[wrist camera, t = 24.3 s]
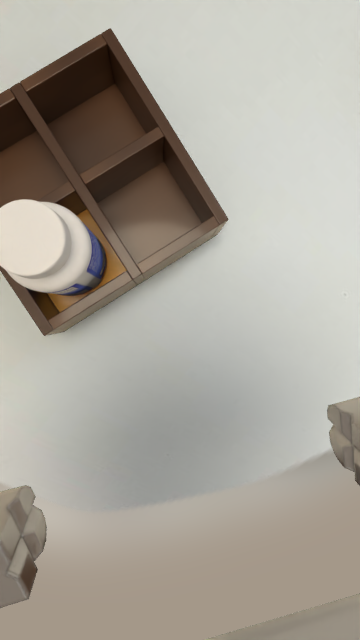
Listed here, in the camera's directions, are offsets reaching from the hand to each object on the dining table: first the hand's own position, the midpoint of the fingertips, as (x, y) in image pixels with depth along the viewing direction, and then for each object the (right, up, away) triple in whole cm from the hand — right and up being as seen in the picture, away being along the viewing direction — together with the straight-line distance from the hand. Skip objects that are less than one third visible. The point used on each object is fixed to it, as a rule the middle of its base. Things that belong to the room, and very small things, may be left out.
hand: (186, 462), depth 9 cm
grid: (-8, +13, +19) cm, 24 cm away
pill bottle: (-9, +8, +18) cm, 22 cm away
